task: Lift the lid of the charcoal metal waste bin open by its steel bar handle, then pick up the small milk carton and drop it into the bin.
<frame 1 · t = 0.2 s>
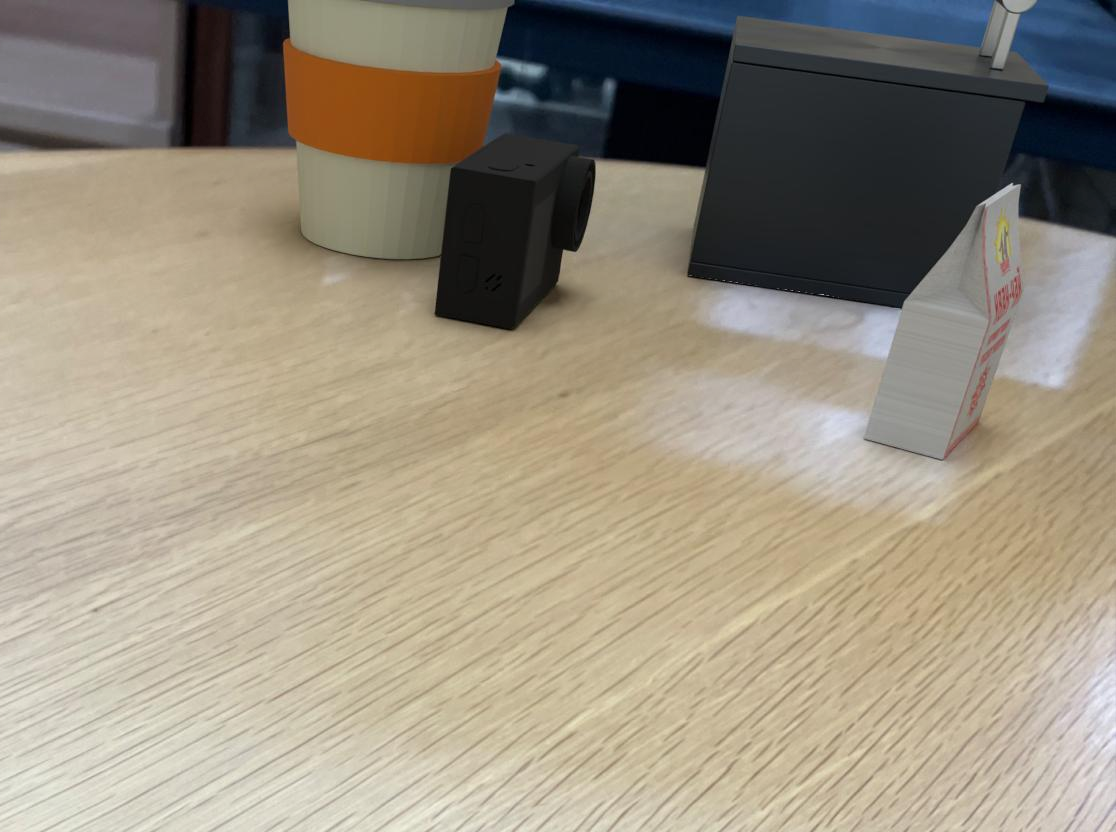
digital camera: (508, 305, 82), on the table
small milk carton: (921, 434, 71), on the table
bin: (817, 269, 93), on the table
reusable coffee cup: (376, 241, 89), on the table
bin lid: (893, 8, 84), point 14 cm above the table, hinge at 0.0°
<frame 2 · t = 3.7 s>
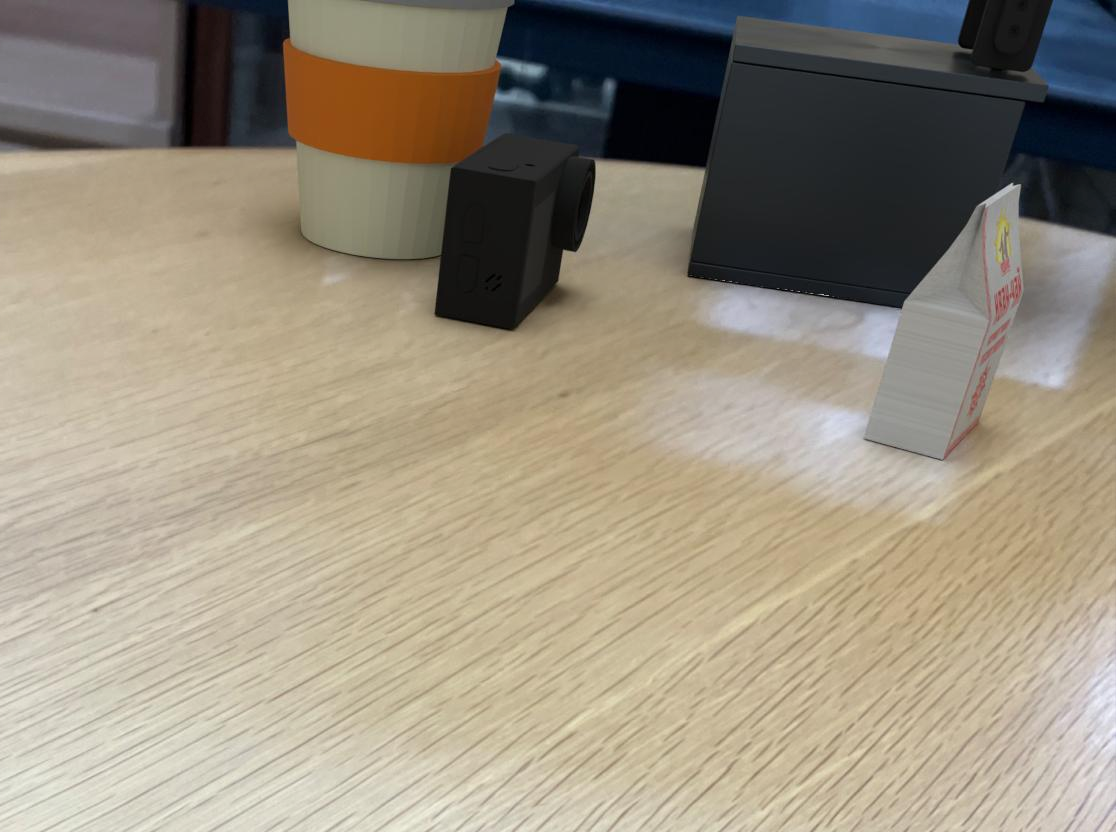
hand: (992, 55, 85), 12 cm above the table, tool pointing down, fingers closed on bin lid, 6 cm apart
bin lid: (893, 8, 84), point 14 cm above the table, hinge at 0.0°, touching gripper
everything else where it was.
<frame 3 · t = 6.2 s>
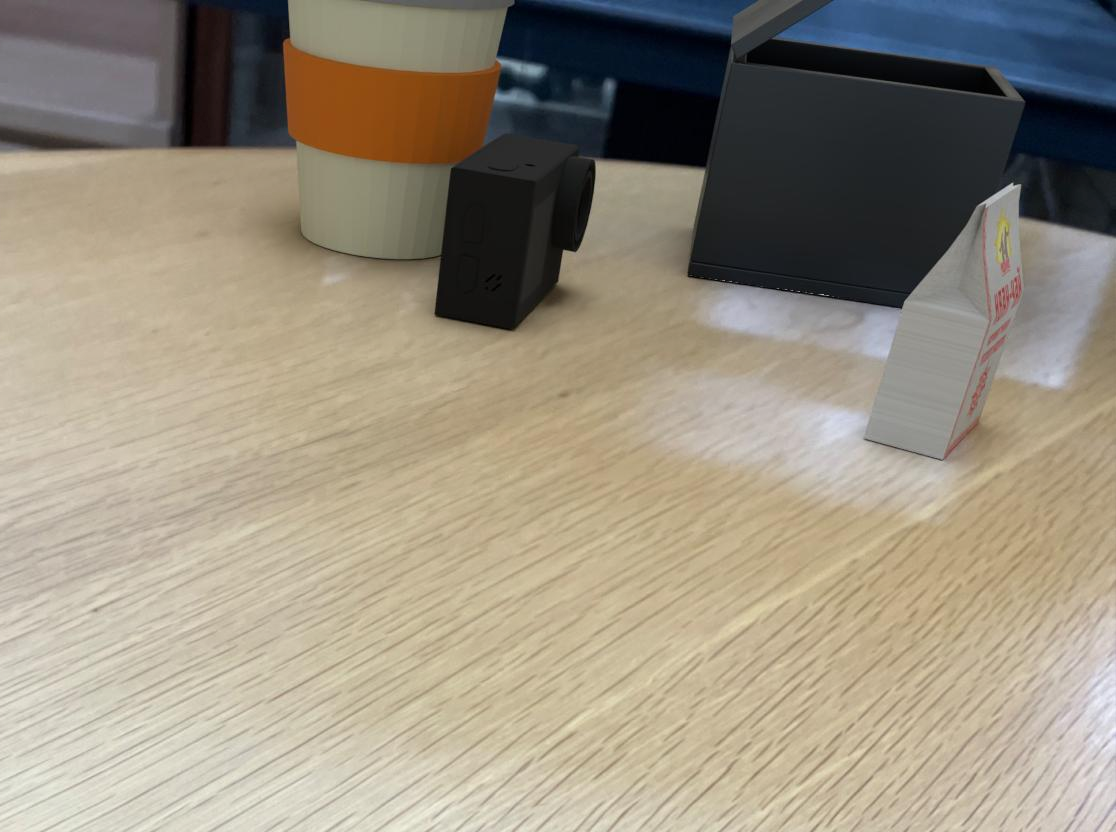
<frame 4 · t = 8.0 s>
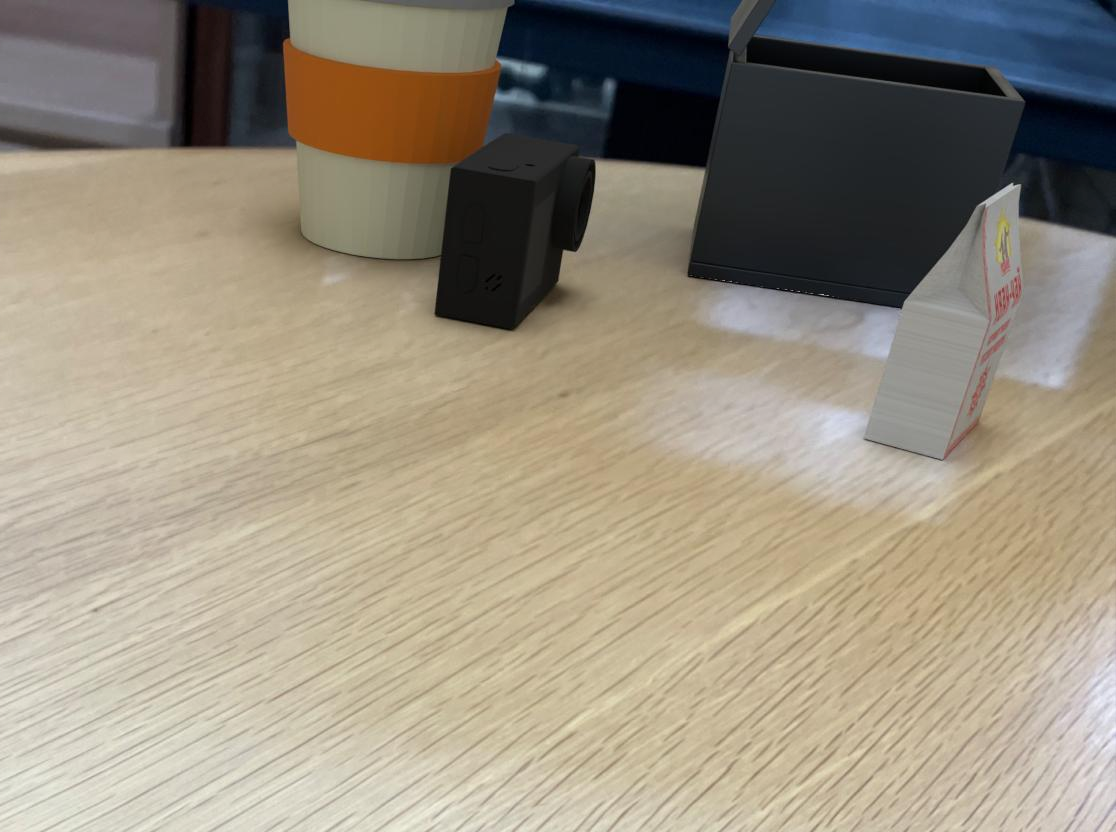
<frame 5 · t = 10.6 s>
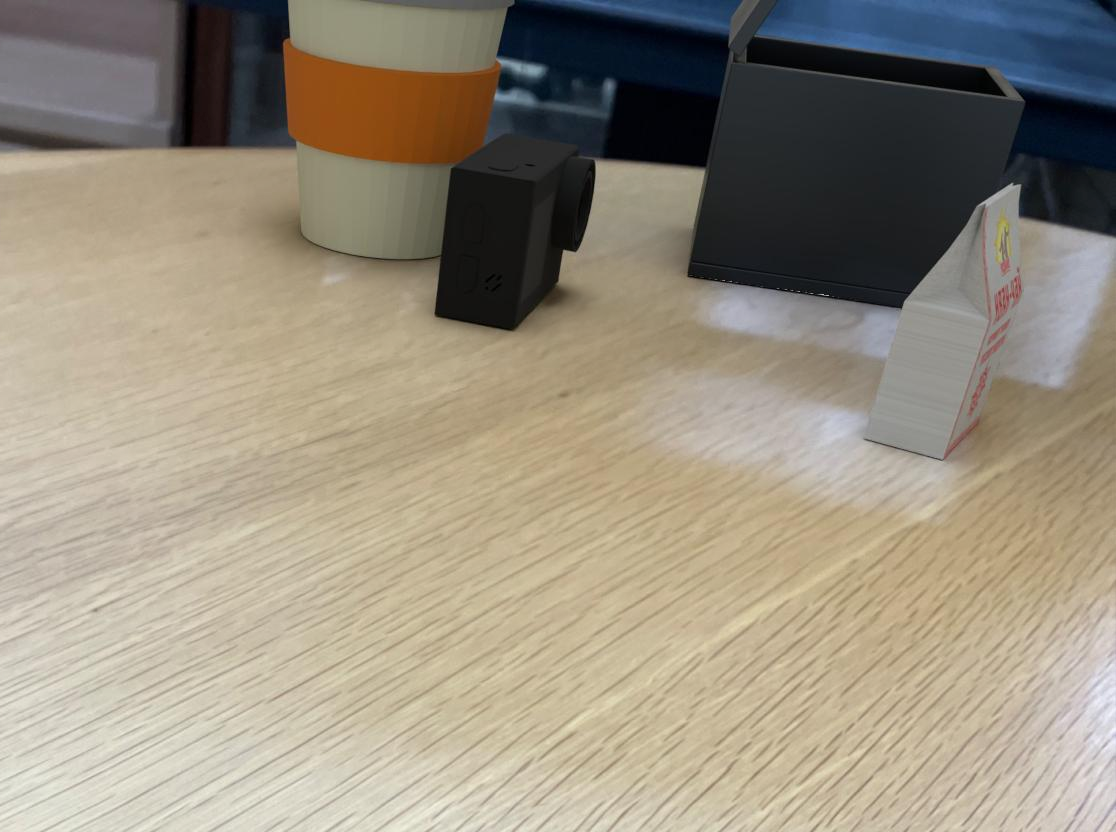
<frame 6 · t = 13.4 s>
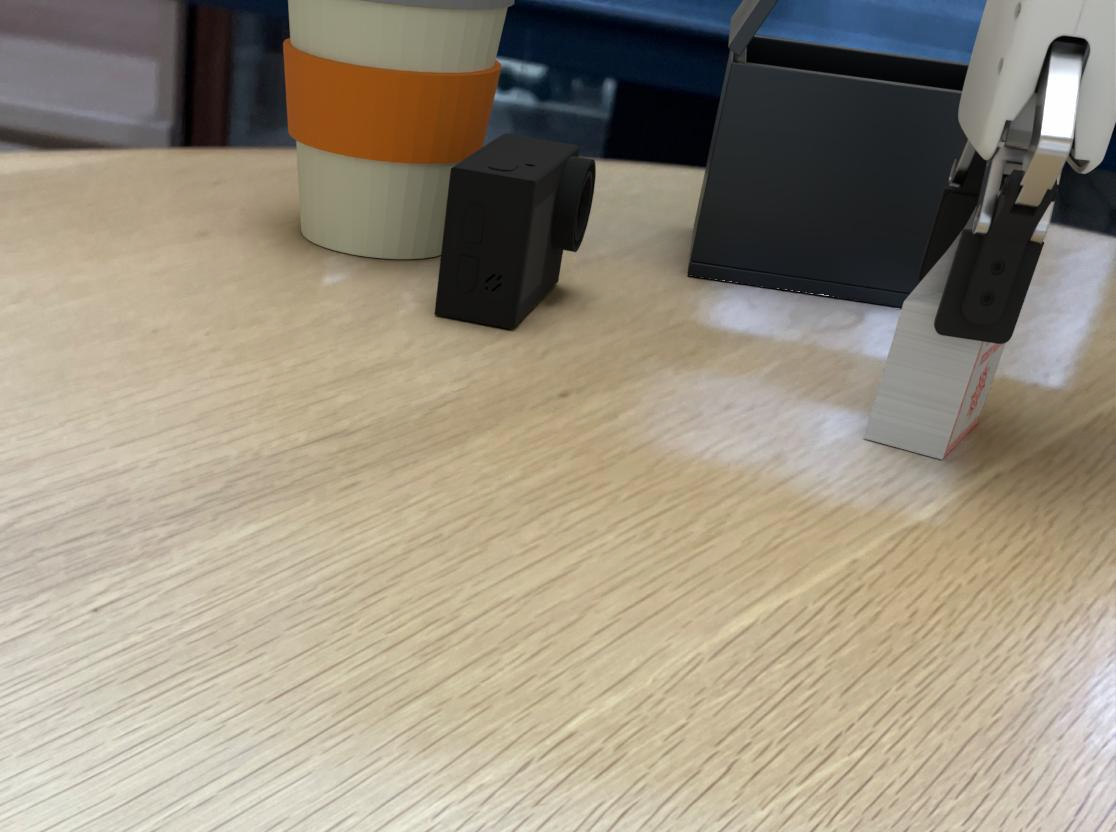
hand: (960, 308, 68), 5 cm above the table, tool pointing down, fingers closed on small milk carton, 7 cm apart
small milk carton: (920, 434, 71), on the table, touching gripper
when the fingers open (13 cm above the table, at t = 21.5 s): small milk carton drops 7 cm, resting on bin.
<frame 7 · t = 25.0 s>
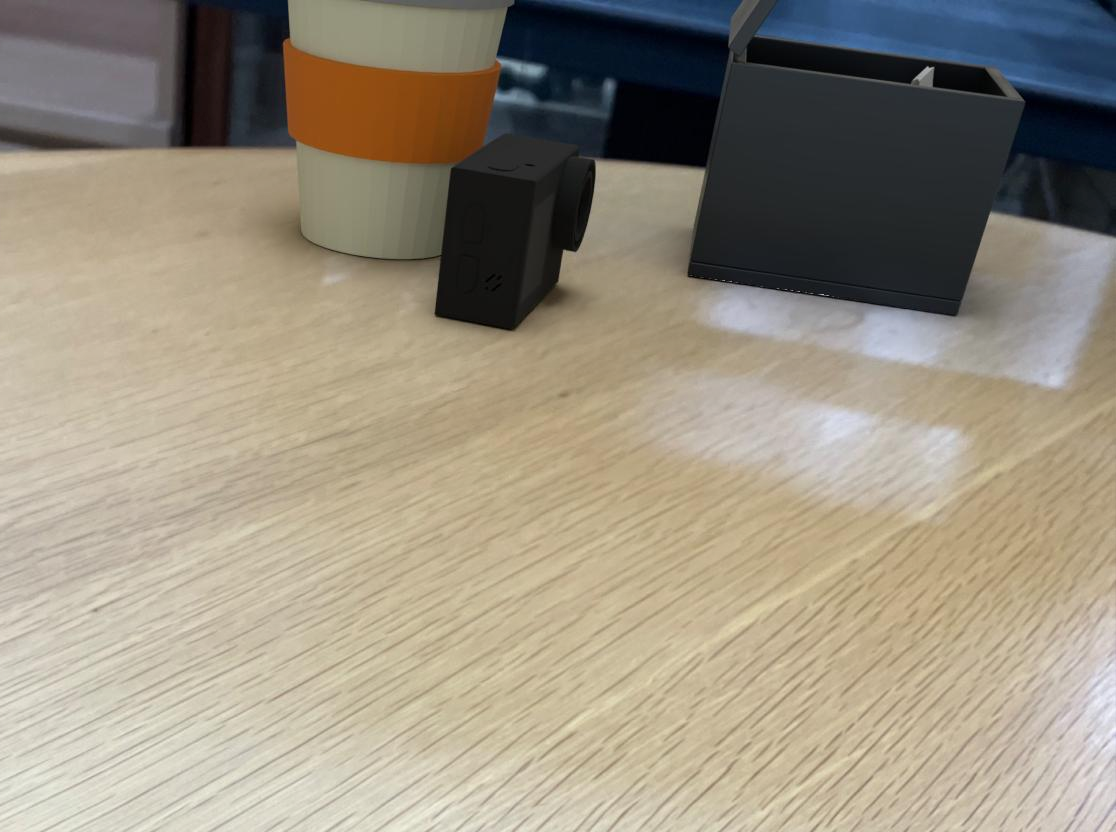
small milk carton: (868, 268, 92), point 1 cm above the table, touching bin
at the end: bin lid at +63° (first picture: +0°); small milk carton inside the target area in the bin (3.0 cm from its centre), point 0.6 cm above the bin's base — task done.
